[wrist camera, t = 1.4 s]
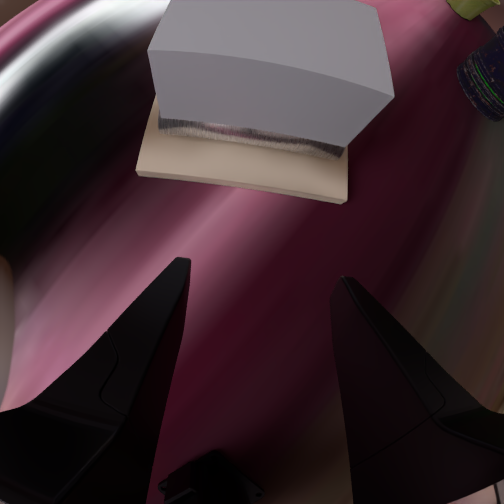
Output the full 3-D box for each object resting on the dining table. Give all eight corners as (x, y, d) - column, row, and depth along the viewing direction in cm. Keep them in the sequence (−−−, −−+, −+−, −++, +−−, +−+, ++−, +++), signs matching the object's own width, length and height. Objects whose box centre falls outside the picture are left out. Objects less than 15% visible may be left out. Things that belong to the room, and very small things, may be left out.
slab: (344, 147, 19) (394, 96, 13) (161, 118, 18) (147, 50, 11) (341, 62, 20) (375, 8, 14) (187, 34, 19) (187, -31, 13)
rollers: (330, 167, 23) (349, 148, 20) (161, 142, 22) (155, 117, 18) (327, 27, 26) (338, 5, 22) (203, 5, 24) (205, -20, 20)
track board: (340, 204, 24) (347, 200, 23) (138, 175, 22) (135, 170, 21) (336, 30, 27) (340, 24, 26) (192, 5, 25) (192, -3, 24)
